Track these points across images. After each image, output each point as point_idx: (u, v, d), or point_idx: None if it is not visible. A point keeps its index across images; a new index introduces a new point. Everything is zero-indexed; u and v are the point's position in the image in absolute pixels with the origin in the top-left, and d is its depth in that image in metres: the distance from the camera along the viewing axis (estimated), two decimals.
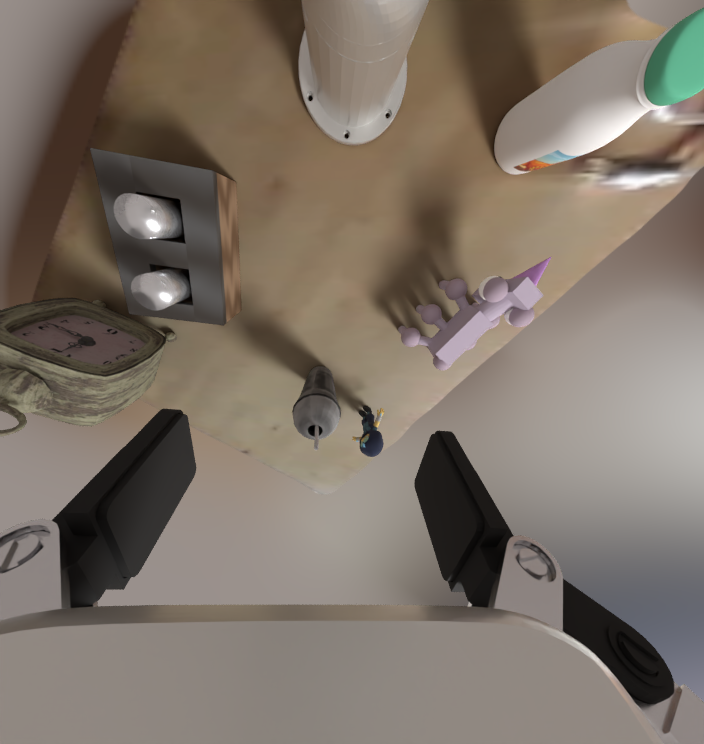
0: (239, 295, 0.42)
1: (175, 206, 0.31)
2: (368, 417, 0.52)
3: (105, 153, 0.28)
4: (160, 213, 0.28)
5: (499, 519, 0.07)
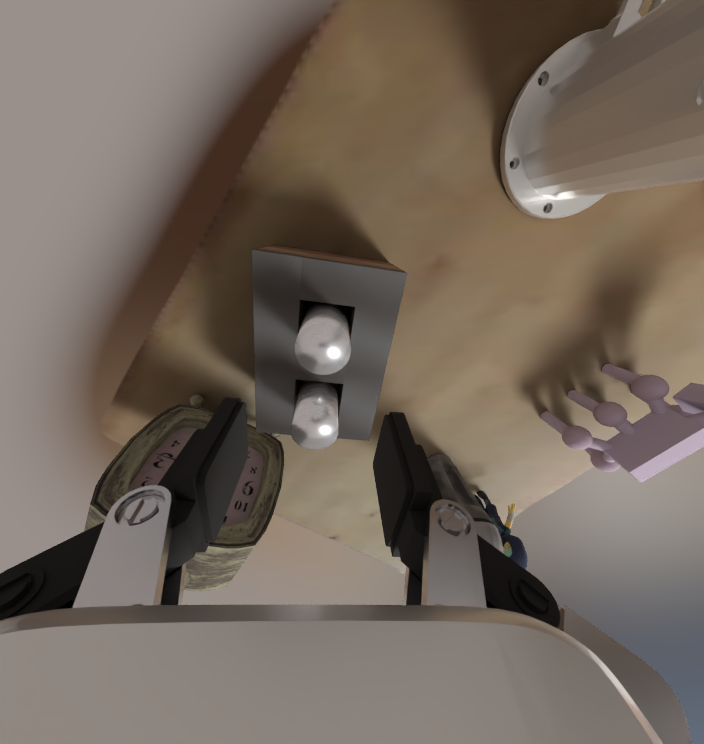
0: None
1: (342, 312, 0.23)
2: (491, 510, 0.44)
3: (271, 256, 0.20)
4: (349, 340, 0.20)
5: (427, 485, 0.08)
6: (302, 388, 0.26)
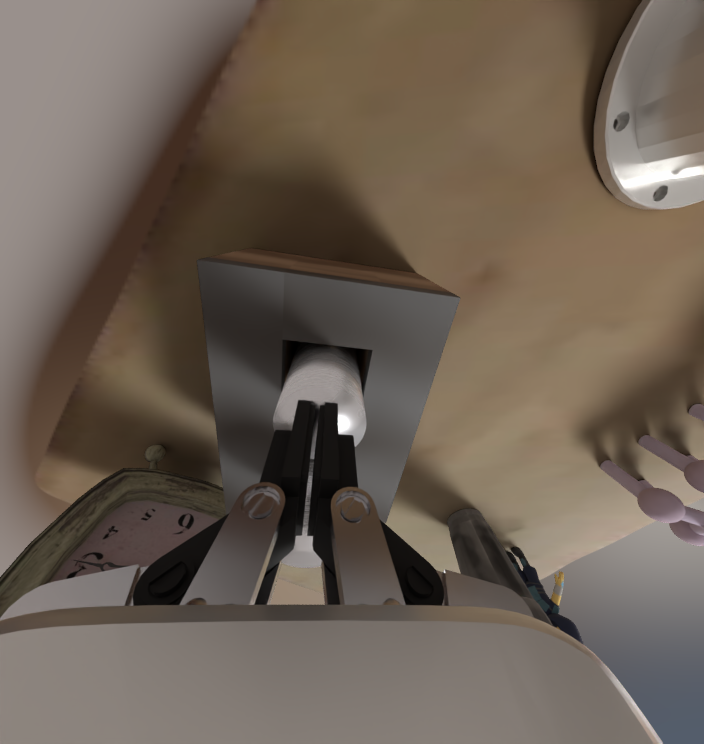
0: None
1: (350, 349, 0.16)
2: (530, 575, 0.35)
3: (231, 270, 0.12)
4: (363, 404, 0.12)
5: (335, 472, 0.08)
6: None
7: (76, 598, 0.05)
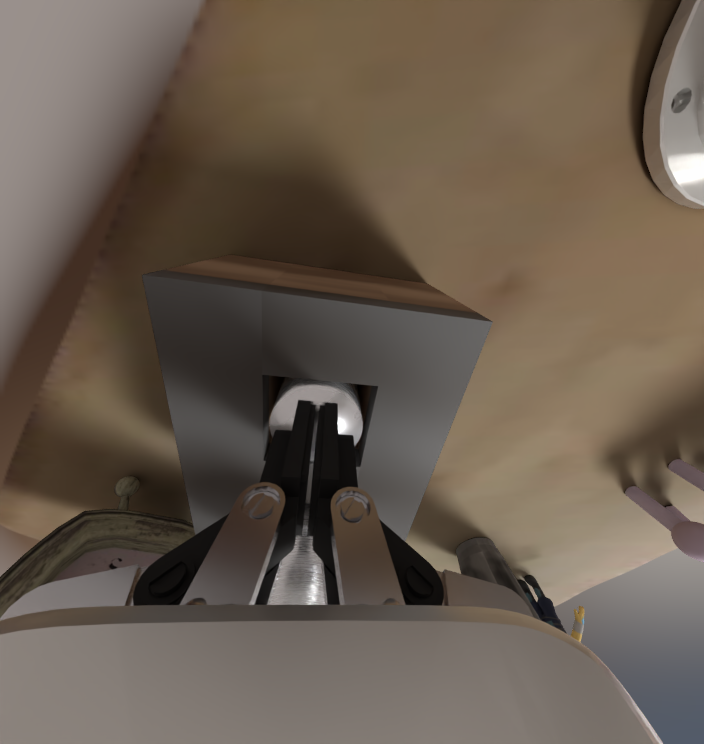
0: None
1: None
2: (546, 608, 0.32)
3: (189, 288, 0.09)
4: (360, 407, 0.12)
5: (334, 472, 0.08)
6: None
7: (76, 598, 0.05)
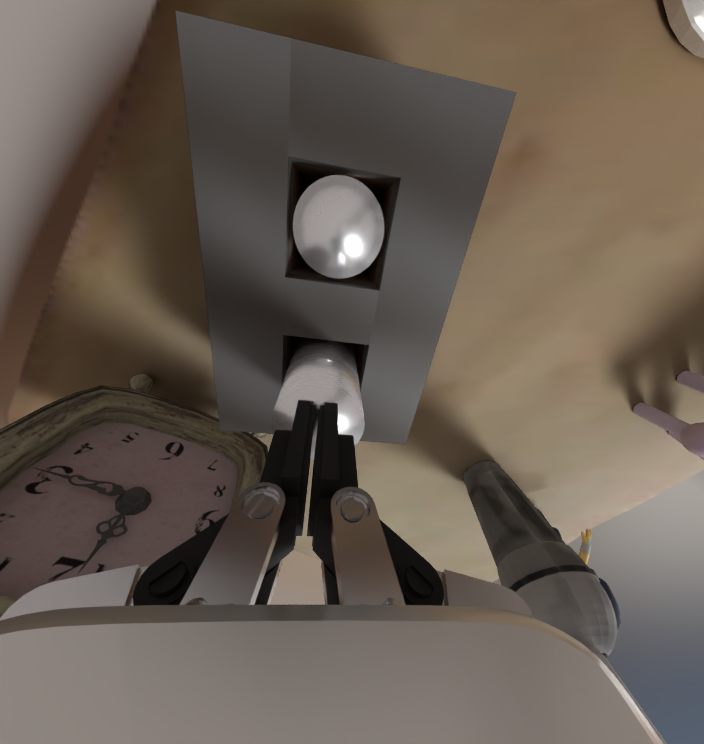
0: None
1: None
2: None
3: (221, 31, 0.09)
4: None
5: (334, 472, 0.08)
6: (297, 351, 0.15)
7: (76, 598, 0.05)
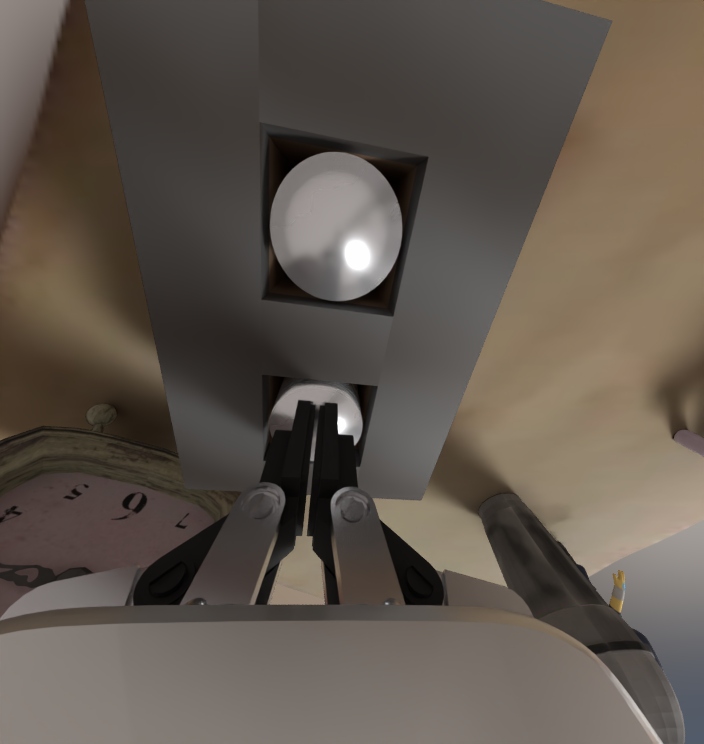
0: None
1: None
2: None
3: None
4: None
5: (334, 472, 0.08)
6: None
7: (76, 598, 0.05)
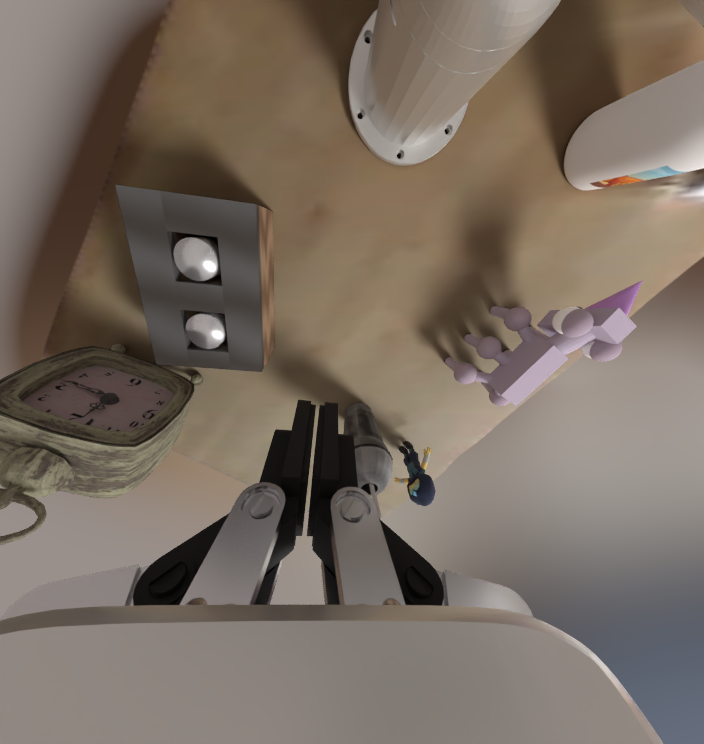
0: (273, 332, 0.38)
1: None
2: (412, 456, 0.47)
3: (132, 190, 0.24)
4: (218, 254, 0.27)
5: (334, 472, 0.08)
6: None
7: (76, 598, 0.05)
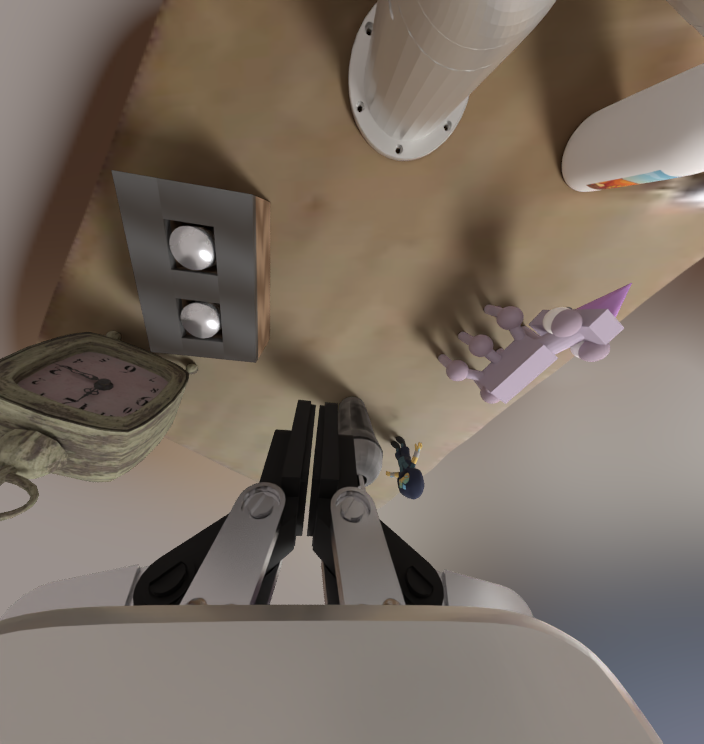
0: (268, 324, 0.38)
1: None
2: (403, 450, 0.48)
3: (129, 176, 0.24)
4: (214, 244, 0.27)
5: (334, 472, 0.08)
6: None
7: (76, 598, 0.05)
